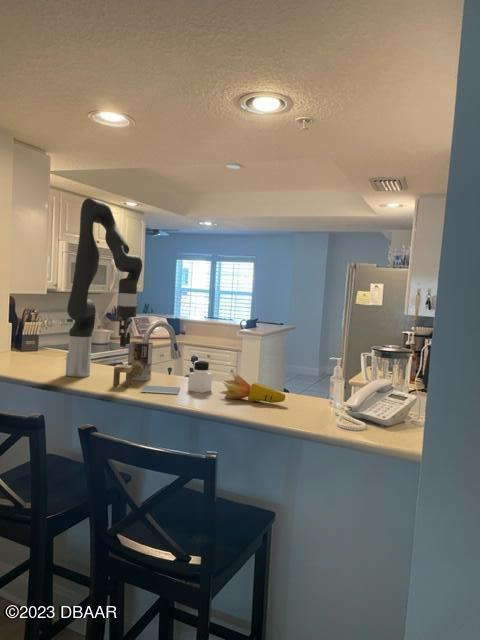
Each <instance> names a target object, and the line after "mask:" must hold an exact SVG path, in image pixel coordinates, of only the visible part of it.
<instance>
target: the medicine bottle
mask: <svg viewBox="0 0 480 640" xmlns="http://www.w3.org/2000/svg"><path fill="white" fill-rule="evenodd" d="M209 367H210V363H209V362H208V361H206V360H195V361H194V362H193V368H192V369H193V372H189V373H188V379H187V380H188V383H187V391H189V392H195V393H201V394H204V393H208V392H211V391H212V385H213V373H212V372H209Z"/></svg>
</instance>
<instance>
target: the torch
mask: <svg viewBox="0 0 480 640" xmlns="http://www.w3.org/2000/svg"><path fill="white" fill-rule="evenodd" d="M229 374H230V375H231V376H232V377H233V379H224V380H223V381H224V382H225V383H224V382H222V384H223V385H224V387H226V390H223V391H222V390H221V391H220V392H219V394H222V395H224V399H230V400H231V399H232V400H233V399H244V398H247V401H248V402H249V403H253V402H266V403H271V404H272V403H273V404H275V403H282V402H284V401H286V394H285V393H283V392H282V391H278V390H276V389H273V388H271V387H268V386H265V385H263V384H260V383H258V382H253V383H252V384H251V385H250V384H249V383H248V382H247V381H246V380H245V379H244V378H243V377H242V376H241V375H240V374H237V373H234V372H230V371H229Z"/></svg>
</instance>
